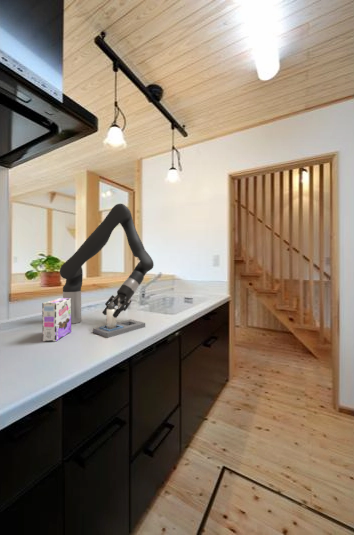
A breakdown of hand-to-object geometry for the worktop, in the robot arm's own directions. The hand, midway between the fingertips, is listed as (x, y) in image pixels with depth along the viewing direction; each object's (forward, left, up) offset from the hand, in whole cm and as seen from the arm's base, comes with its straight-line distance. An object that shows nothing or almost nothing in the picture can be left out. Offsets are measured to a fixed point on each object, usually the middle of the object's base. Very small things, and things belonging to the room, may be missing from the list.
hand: (108, 315), depth 106 cm
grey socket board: (0, +6, -8) cm, 10 cm away
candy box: (-13, -18, -8) cm, 23 cm away
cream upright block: (0, +1, -8) cm, 8 cm away
